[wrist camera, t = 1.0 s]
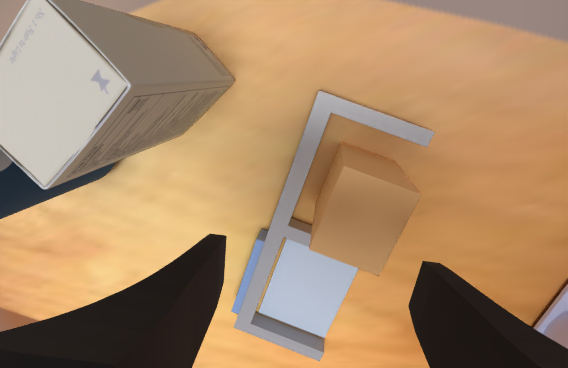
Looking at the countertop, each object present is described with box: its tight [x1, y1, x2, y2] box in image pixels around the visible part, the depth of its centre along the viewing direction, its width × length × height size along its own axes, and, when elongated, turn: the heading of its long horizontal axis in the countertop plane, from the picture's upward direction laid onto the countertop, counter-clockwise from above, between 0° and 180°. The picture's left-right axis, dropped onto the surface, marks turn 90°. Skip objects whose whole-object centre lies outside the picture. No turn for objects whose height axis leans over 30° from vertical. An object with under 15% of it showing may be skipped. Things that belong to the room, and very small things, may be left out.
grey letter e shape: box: [232, 90, 435, 361], centre depth 24 cm, size 8×20×2 cm, turn 162°
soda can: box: [0, 149, 115, 219], centre depth 19 cm, size 7×7×12 cm
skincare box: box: [0, 0, 235, 189], centre depth 17 cm, size 6×4×12 cm
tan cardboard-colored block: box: [309, 142, 421, 276], centre depth 20 cm, size 4×5×7 cm
